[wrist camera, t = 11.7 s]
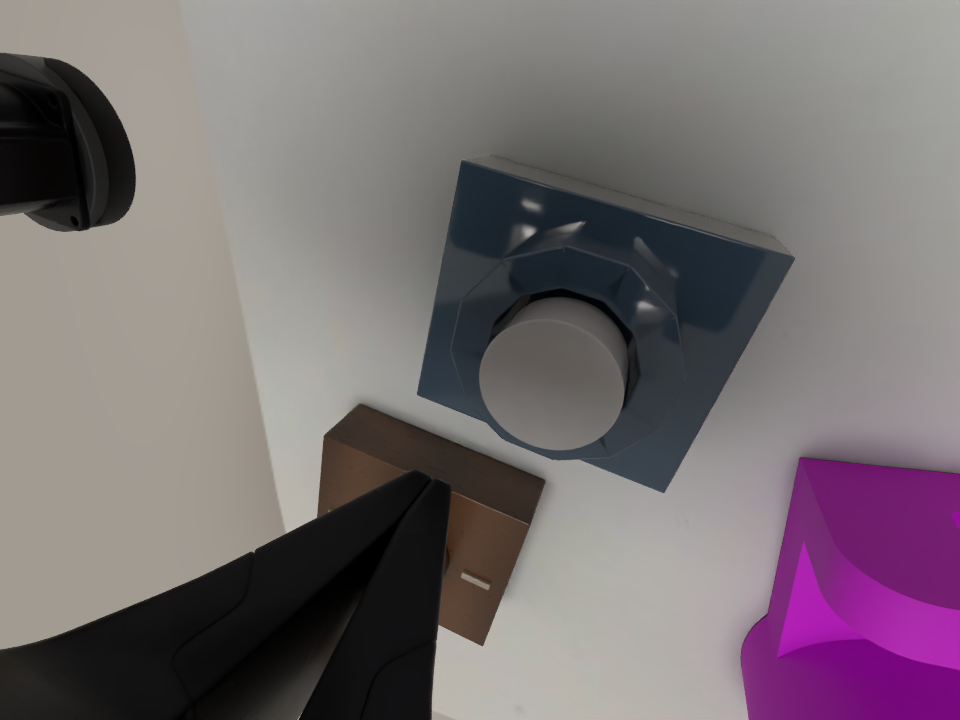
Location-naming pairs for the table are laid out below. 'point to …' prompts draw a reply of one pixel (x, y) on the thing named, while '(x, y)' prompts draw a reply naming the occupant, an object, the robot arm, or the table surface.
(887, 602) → the magenta ring bracket
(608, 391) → the push button
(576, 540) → the table surface
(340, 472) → the panel
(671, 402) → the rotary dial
